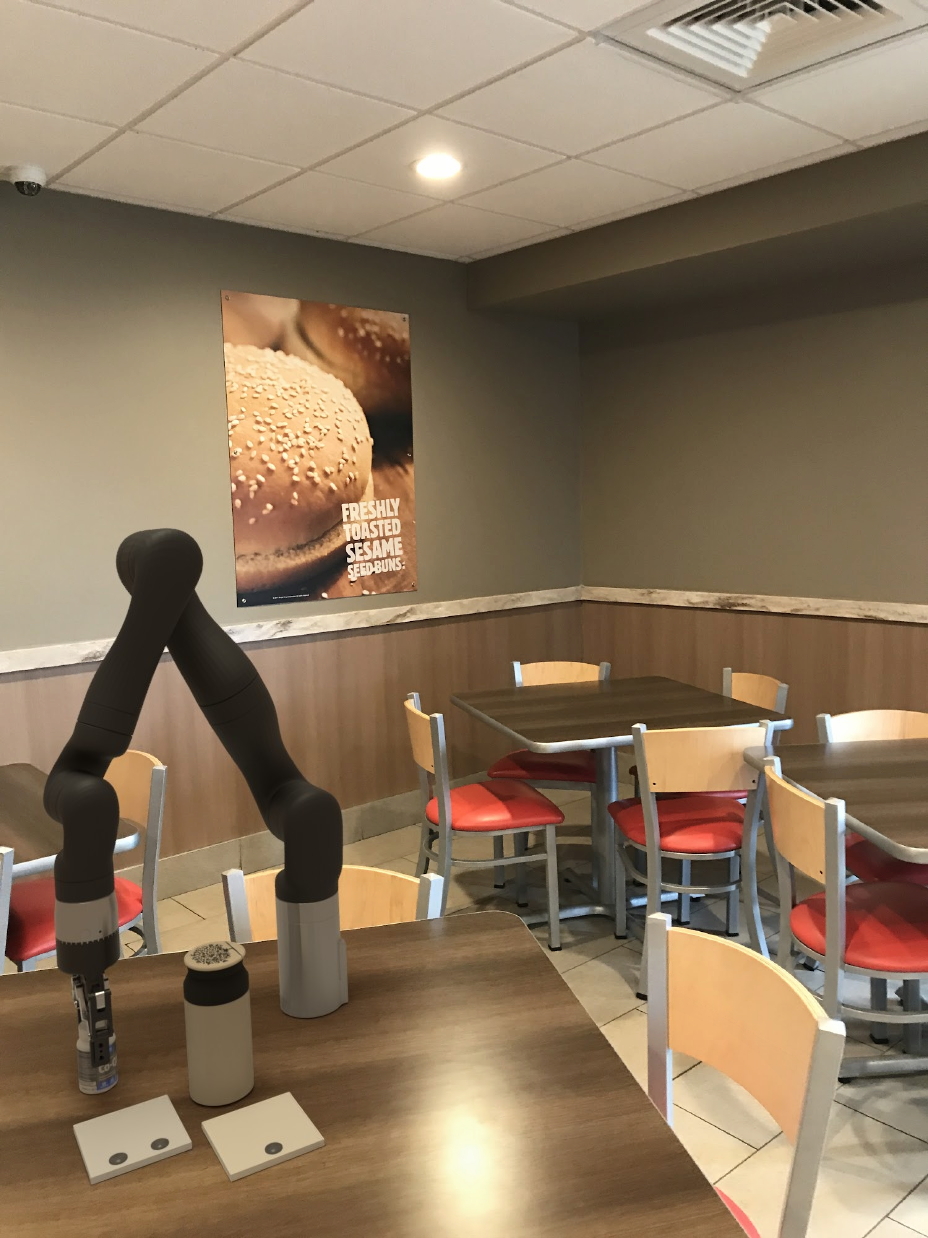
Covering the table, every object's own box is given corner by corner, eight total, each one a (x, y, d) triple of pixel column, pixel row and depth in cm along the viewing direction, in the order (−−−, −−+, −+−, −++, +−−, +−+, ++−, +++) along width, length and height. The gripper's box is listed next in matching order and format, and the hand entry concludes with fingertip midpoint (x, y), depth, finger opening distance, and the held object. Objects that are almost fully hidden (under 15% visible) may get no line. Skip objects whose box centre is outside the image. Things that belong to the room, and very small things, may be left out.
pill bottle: (105, 1097, 121) (100, 1034, 120) (71, 1093, 122) (67, 1031, 121) (125, 1075, 126) (121, 1014, 125) (93, 1072, 127) (89, 1011, 126)
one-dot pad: (289, 1098, 120) (289, 1091, 120) (324, 1145, 111) (324, 1138, 110) (201, 1128, 114) (201, 1121, 114) (231, 1182, 105) (230, 1174, 105)
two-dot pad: (167, 1100, 120) (166, 1093, 120) (192, 1148, 111) (191, 1141, 110) (73, 1131, 114) (73, 1124, 114) (91, 1185, 105) (91, 1177, 105)
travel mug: (197, 1116, 117) (189, 974, 115) (183, 1082, 124) (175, 948, 122) (261, 1096, 120) (254, 959, 118) (245, 1065, 127) (238, 935, 125)
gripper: (130, 940, 117) (136, 1067, 119) (106, 902, 130) (112, 1017, 131) (64, 955, 114) (72, 1086, 115) (46, 915, 126) (53, 1033, 127)
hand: (93, 1049), depth 123 cm, fingers open, 8 cm apart
